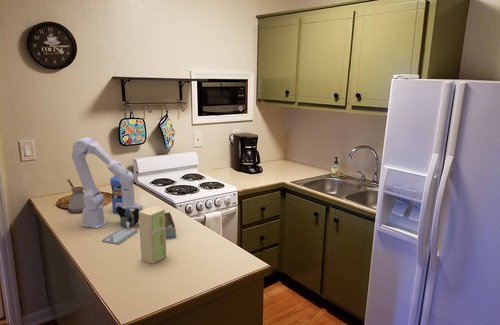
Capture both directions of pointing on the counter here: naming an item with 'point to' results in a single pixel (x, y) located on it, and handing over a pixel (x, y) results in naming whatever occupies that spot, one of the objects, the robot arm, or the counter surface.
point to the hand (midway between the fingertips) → (129, 222)
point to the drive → (127, 220)
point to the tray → (120, 235)
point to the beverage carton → (169, 226)
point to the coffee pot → (76, 199)
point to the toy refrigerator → (152, 234)
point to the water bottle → (116, 193)
